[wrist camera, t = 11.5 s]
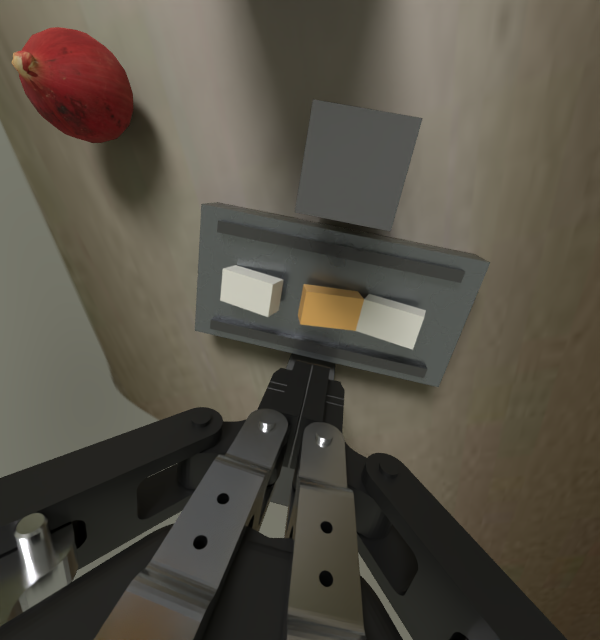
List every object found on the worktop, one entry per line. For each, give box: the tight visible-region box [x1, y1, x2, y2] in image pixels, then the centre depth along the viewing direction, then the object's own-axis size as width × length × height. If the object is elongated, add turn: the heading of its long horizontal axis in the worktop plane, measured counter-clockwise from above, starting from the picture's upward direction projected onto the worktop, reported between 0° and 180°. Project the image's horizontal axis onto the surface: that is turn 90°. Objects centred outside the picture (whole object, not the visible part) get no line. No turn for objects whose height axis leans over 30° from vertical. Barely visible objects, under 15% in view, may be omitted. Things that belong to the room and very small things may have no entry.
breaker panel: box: [195, 202, 490, 387], centre depth 25 cm, size 20×10×4 cm, turn 80°
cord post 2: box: [295, 99, 422, 231], centre depth 18 cm, size 4×4×12 cm
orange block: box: [298, 284, 364, 331], centre depth 23 cm, size 4×2×2 cm, turn 80°
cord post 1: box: [270, 353, 335, 506], centre depth 25 cm, size 4×4×12 cm
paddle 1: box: [220, 265, 283, 317], centre depth 23 cm, size 4×2×2 cm, turn 79°
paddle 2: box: [356, 294, 426, 350], centre depth 23 cm, size 4×2×2 cm, turn 79°
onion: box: [12, 27, 133, 143], centre depth 20 cm, size 6×6×8 cm
